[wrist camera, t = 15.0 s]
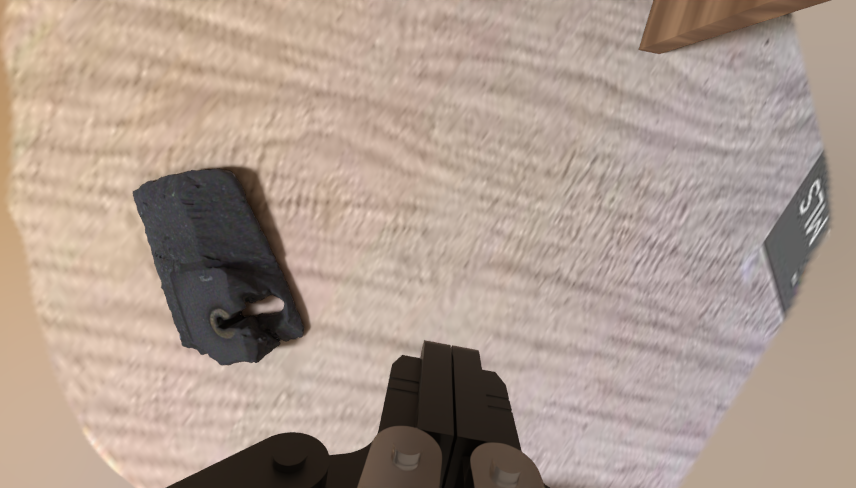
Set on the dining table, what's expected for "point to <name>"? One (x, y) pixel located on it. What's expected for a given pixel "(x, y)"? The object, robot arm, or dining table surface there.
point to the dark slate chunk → (215, 265)
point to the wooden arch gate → (708, 19)
